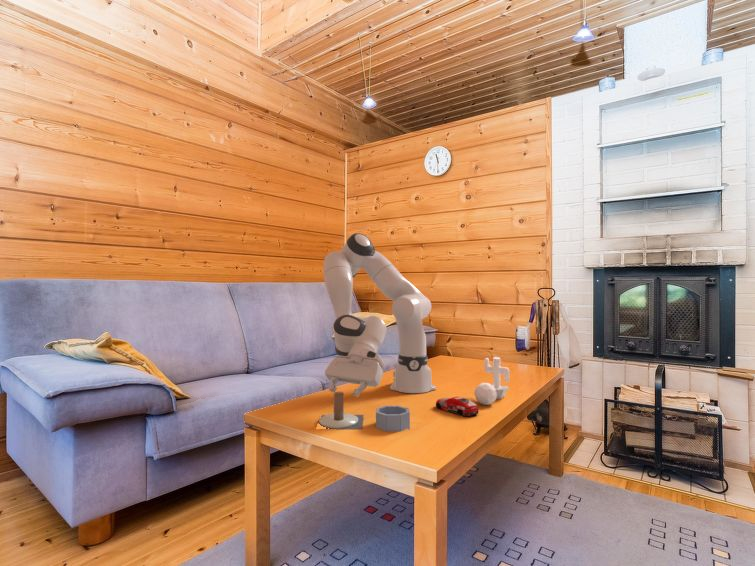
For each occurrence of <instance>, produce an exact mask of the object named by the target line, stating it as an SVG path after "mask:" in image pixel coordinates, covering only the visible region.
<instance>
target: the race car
mask: <svg viewBox="0 0 755 566" xmlns="http://www.w3.org/2000/svg"><path fill="white" fill-rule="evenodd" d="M435 407H436V409H437V410H440V411H441V410H443V411H446V412H450V413H451V414H452V413H453V414H455V415H458V416H459V417H460V416H461V417H469V416H474V415H477V414H479V407H478V404H477V403H475V402H473V401H471V400H470V399H468V398H466V397H462V396H454V397H450V398H449V397H443V398H439V399H437V400H436V402H435Z"/></svg>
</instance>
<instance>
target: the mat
mask: <svg viewBox="0 0 755 566" xmlns="http://www.w3.org/2000/svg"><path fill="white" fill-rule="evenodd" d="M321 415H322V416H325V415H326V414H321ZM354 415H355V416H357V417H358V423H357V424H356V425H355V426H352V427H349V428H342V429H341V430H363V428H364V414H354ZM322 416H321V417H322ZM326 429H328V428H326ZM329 429H332V428H329Z"/></svg>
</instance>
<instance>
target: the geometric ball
mask: <svg viewBox="0 0 755 566" xmlns="http://www.w3.org/2000/svg"><path fill="white" fill-rule="evenodd" d="M491 384H492V383H489V382H481V383H480V384H478V385H477V386H476V387H475V389H474V393H473V394H474V397H475V399H476V402H478V403H479V404H480V405H483V406H487V405H488V406H490V405H491V404H493V403H494V402H495V401H496V400H497V398H496V397H497V393H496V390H495V388H494V387H493V386H492V385H491Z"/></svg>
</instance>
